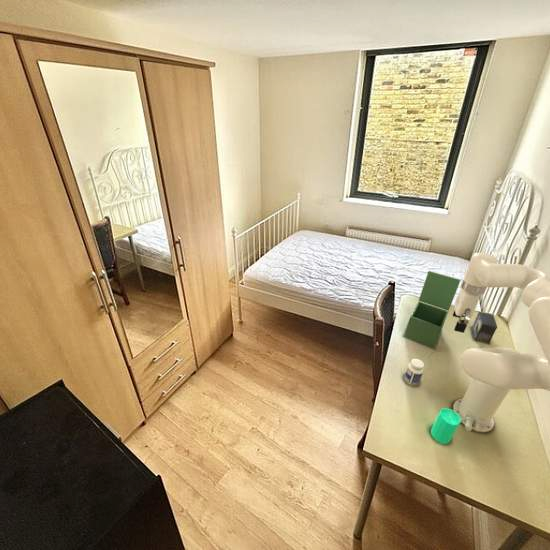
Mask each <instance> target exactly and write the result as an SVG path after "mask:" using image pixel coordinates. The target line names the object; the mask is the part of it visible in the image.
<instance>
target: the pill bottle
mask: <svg viewBox="0 0 550 550" xmlns="http://www.w3.org/2000/svg"><path fill="white" fill-rule="evenodd" d="M424 367H425V363H424V362H423V361H422V360H420V359H419V358H413V359H411V361H410V362H409V363H408V365H407V368H406V371H405V373H404V377H403V379H404V381H405V382H406V383H407V384H408V385H410V386H416V387H417V386H418V385H419V384H420V382H421V379H422V377H423V374H424V371H425V370H424Z"/></svg>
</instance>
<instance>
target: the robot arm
mask: <svg viewBox="0 0 550 550" xmlns="http://www.w3.org/2000/svg"><path fill="white" fill-rule="evenodd" d="M459 286H460V289H459V292H458V294H457V296H456V298H455V301H454V311H453V313H452V317H455V318H458V321H456V323H455V326H454V329H453V331H455V332H458V333H462V334H464V333H465V331H466V329H467V327H468V324H469V321H470V319H471V318H472V317H473V315H474V313H475V311H476V308H477V306H478V303H479V300H480V298H481V296H483V295H485V292H486V291H487V288H516V289H517V288H518V289H521V290H522V293H521V301H522V303H523V304H524V305H525V307H527V308H528V317H529V322H530V325H531V327H532V329H533V332H534V334H535V336H536V339H537V341H538V343H539V345H540V347H541V350H542V352H543V354H544V355H540V354H535V353H528V352H520V351H518V350H516V349H514V348H511V347H502V346H501V347H499V346H498V347H496V346H495V347H470V348H467V349H466V350H464V351H463V352H462V354H461V356H460V365H461V368H462V370H463V371H464V373H465V374H466V375H467V376H469V377H470V378H472V380H471V382H470V384H469V386H468V388H467V390H466V391H465V394H464V396H463V397H462V398H459V399H457V400H456V401H454V403H453V405H452V410H453V411H455V412H456V413H457V414H458V415H459V417H460V419H461V422H460V423H462V424H463V425H464V428H465V430H466V431H467V432H471V431H472V430H473V431H475V432H477V433H487V432H490V431H491V430H492V429H493V428H494V426H495V420H494V416H495V414H496V412H497V411H498V409H499V407H500V406H501V405H502V403H503V401H504V400H505V398H506V397H507V396H508V394H509V392H510V391H511V390H544V391H548V392H550V278H549V277H548V275H547V274H546V273H544V272H543V271H541V270H538V269H536V268H534V267H531V266H527V265H525V264H520V263H499V259H498V258H497V257H496V256H495V255H493V254H491V253H487V252H475V253H474V254H472V256H471V258H470V261H469V263H468V266H467V269H466V271H465V274H464V276H463V278H462V280H461V284H460V285H459Z"/></svg>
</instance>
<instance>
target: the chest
mask: <svg viewBox="0 0 550 550" xmlns="http://www.w3.org/2000/svg"><path fill="white" fill-rule="evenodd" d="M448 314H449V311H448V310H445V309H442V308H439V307H436V306H433V305H430V304H427V303H424V302H421V301H419V300H418V302H417V303H416V305H415V307H414V309H413V311H412V312H411V315H410V316H409V318H408V319H409V320H408V322H407V326H406V328H405V332H404V335H403V337H404V338H406V339H409V340H411V341H413V342H416V343H419V344H421V345H423V346H426V347H429V348H431V349H433V350H434V349H435V348H436V346H437V344H438V341H439V338H440V335H441V333H442V330H443V328H444V325H445V322H446V319H447V317H448Z"/></svg>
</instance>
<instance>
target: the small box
mask: <svg viewBox="0 0 550 550" xmlns="http://www.w3.org/2000/svg"><path fill="white" fill-rule="evenodd" d="M497 329H498V325H497V321H496V319H495V316H494V314H493V313H488V312H483V311H478V313H477V314H476V317H475V320H474V321H473V325H472V326H471V330H472V335H473V338H474V341H476V342H480V343H484V344H488V345H490V343H491V341H492V339H493V337H494V335H495V333H496V331H497Z"/></svg>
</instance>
